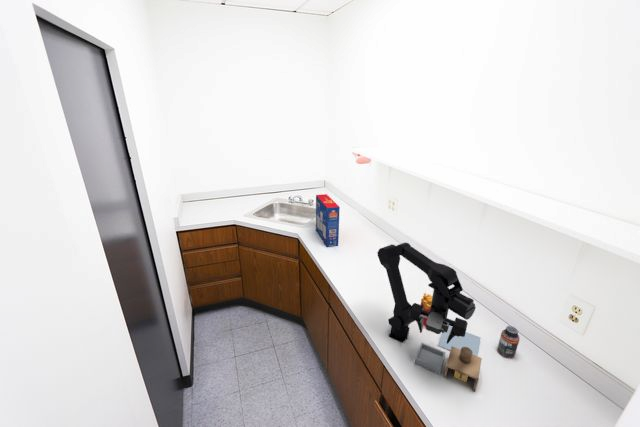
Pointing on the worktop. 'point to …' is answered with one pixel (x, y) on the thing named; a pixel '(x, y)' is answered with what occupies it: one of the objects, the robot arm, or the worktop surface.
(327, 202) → the pasta box
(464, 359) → the brown knobbed box
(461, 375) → the letter cube
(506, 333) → the supplement bottle
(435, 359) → the tray
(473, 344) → the mat
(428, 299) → the french fries
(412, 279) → the worktop surface
